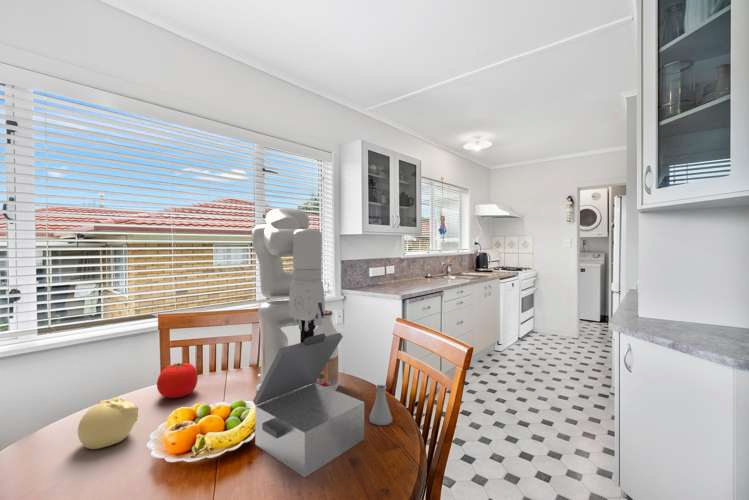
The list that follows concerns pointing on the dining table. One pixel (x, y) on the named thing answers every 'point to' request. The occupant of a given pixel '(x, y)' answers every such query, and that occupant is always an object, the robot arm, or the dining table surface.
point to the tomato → (177, 380)
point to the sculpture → (107, 423)
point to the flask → (380, 408)
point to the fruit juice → (331, 368)
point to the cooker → (309, 427)
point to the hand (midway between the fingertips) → (307, 344)
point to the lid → (297, 366)
